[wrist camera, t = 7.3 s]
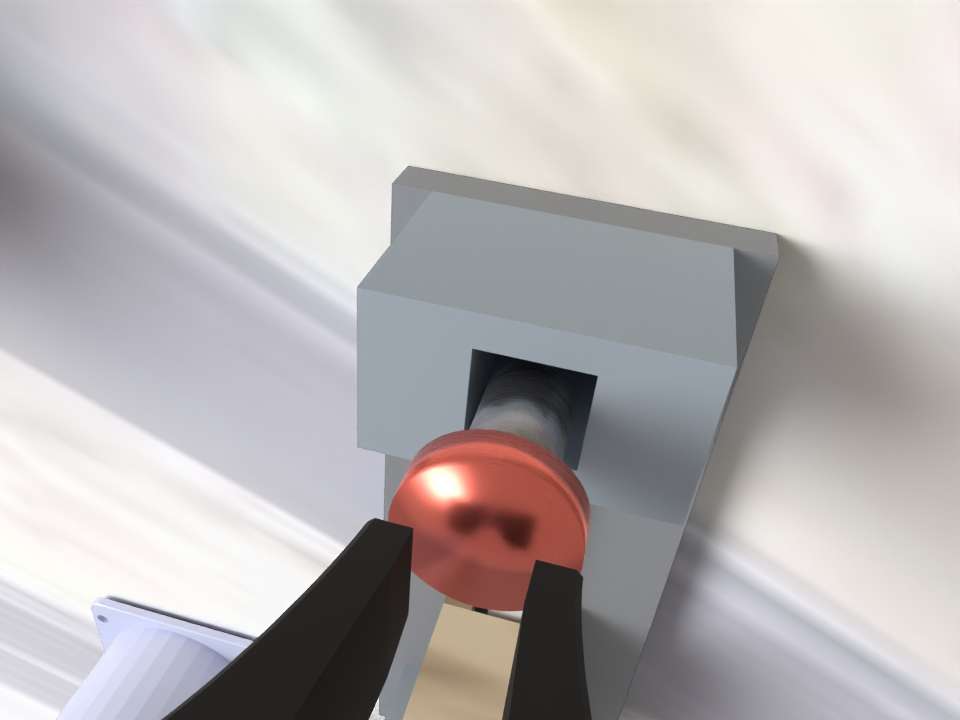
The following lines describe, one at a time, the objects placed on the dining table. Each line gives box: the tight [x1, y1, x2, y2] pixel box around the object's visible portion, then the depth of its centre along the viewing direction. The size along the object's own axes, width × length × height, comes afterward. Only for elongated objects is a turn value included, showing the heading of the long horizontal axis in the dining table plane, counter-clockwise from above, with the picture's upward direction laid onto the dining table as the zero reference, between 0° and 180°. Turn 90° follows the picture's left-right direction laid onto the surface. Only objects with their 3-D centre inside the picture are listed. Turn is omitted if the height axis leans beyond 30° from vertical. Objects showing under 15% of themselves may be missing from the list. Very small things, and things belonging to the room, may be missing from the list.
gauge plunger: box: [388, 362, 591, 611], centre depth 14 cm, size 3×3×4 cm
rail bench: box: [357, 166, 779, 720], centre depth 23 cm, size 23×9×6 cm, turn 175°
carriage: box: [403, 596, 520, 720], centre depth 25 cm, size 5×4×5 cm
